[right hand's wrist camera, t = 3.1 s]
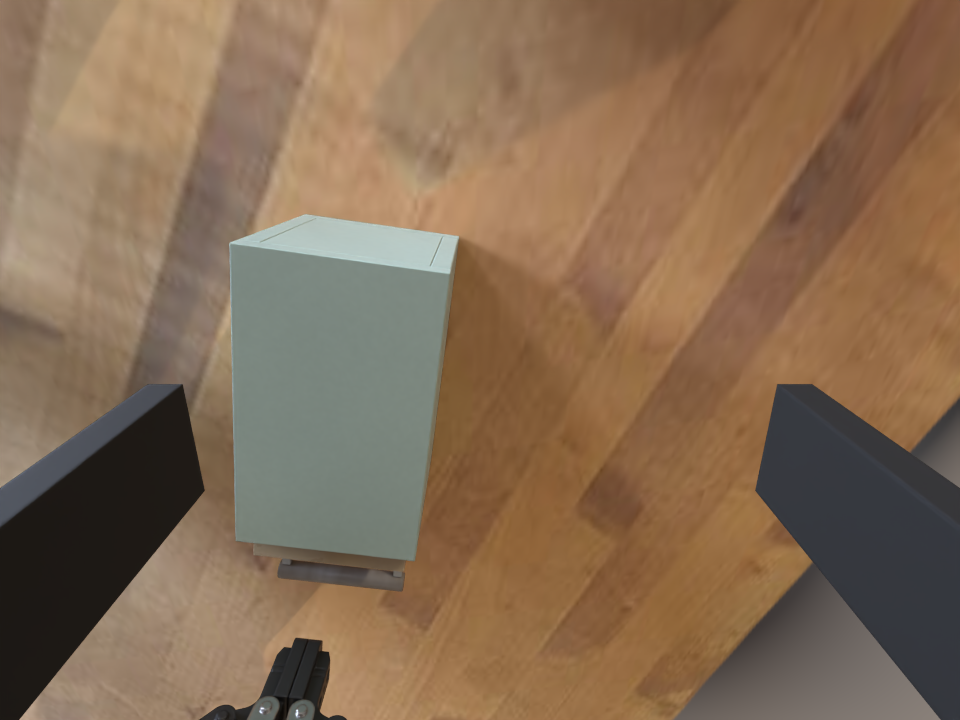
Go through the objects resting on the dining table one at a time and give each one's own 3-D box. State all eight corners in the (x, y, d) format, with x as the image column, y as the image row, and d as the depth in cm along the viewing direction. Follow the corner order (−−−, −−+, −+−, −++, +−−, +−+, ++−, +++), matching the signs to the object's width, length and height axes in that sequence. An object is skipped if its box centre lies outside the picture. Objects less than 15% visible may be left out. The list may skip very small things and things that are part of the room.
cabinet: (431, 456, 42) (414, 561, 32) (298, 440, 42) (235, 541, 31) (459, 236, 36) (450, 273, 26) (304, 214, 36) (229, 242, 25)
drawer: (412, 542, 44) (395, 642, 35) (299, 529, 44) (253, 627, 35) (443, 284, 37) (431, 328, 28) (307, 265, 36) (251, 304, 27)
